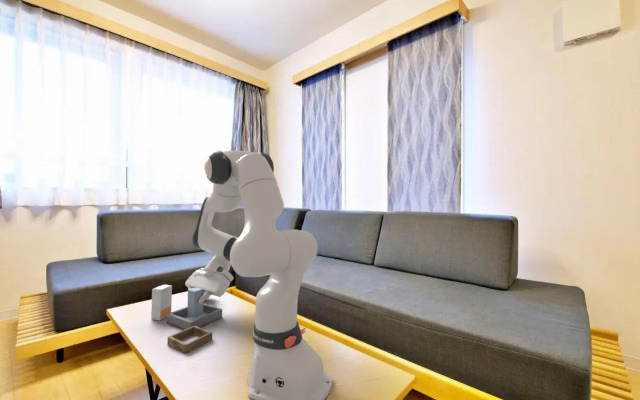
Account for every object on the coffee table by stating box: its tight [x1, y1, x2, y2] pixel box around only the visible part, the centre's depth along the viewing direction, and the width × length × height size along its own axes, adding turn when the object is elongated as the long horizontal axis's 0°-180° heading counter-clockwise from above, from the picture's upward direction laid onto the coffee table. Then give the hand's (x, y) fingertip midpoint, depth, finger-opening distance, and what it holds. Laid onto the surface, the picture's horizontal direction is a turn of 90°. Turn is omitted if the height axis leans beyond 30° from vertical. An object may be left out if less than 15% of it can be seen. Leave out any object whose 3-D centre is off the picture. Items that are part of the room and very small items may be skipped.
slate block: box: [187, 287, 204, 318], centre depth 105 cm, size 4×4×10 cm
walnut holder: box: [167, 325, 213, 354], centre depth 89 cm, size 10×10×2 cm
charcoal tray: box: [166, 302, 223, 331], centre depth 105 cm, size 14×14×4 cm
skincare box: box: [150, 284, 173, 321], centre depth 107 cm, size 6×4×12 cm
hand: (194, 301), depth 104 cm, fingers closed on slate block, 4 cm apart
